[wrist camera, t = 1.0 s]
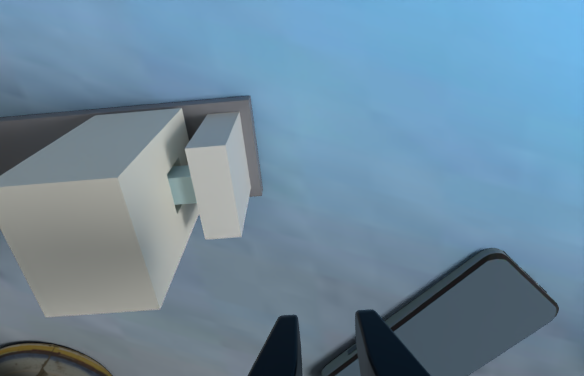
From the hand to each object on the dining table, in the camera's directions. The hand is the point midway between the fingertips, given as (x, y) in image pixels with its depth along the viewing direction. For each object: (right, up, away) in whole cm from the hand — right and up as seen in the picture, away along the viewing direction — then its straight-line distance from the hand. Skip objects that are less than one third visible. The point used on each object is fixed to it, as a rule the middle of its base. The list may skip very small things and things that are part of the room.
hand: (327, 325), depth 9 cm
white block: (-8, +4, +10) cm, 13 cm away
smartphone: (+9, -7, +18) cm, 21 cm away
